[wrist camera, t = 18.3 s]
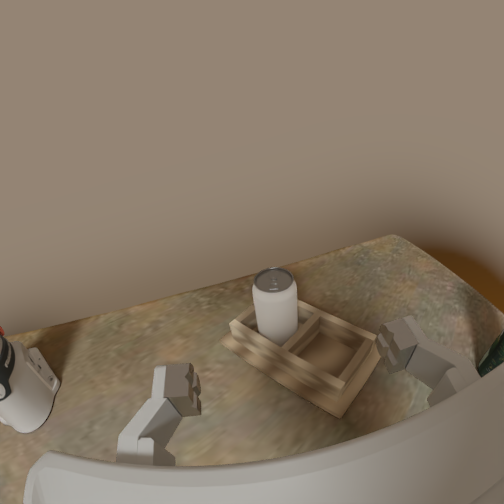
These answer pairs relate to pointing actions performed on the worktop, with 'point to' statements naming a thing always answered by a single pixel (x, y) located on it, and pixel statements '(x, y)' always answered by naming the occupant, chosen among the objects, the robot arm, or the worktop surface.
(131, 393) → the worktop surface
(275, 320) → the can
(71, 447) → the worktop surface
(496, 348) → the coffee jar
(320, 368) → the can holder
